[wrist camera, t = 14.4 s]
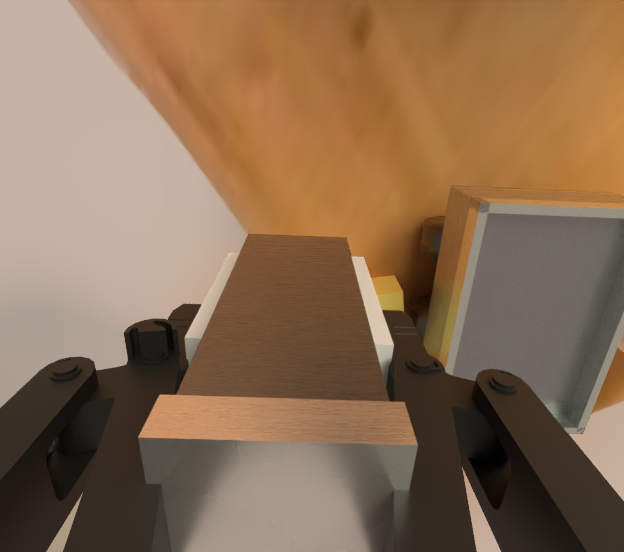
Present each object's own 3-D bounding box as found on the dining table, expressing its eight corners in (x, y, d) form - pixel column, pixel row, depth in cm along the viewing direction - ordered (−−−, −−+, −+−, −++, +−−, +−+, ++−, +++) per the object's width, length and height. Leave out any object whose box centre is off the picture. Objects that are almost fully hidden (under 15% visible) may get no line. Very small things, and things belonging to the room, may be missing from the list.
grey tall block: (243, 229, 16) (137, 437, 6) (351, 233, 16) (418, 445, 6) (245, 323, 18) (166, 603, 8) (343, 326, 18) (385, 607, 8)
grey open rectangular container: (423, 172, 35) (472, 202, 25) (569, 178, 35) (680, 211, 25) (396, 347, 42) (426, 429, 32) (519, 351, 43) (589, 434, 32)
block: (342, 280, 39) (346, 298, 36) (394, 274, 39) (403, 292, 36) (348, 333, 42) (352, 355, 38) (397, 327, 42) (405, 349, 38)
